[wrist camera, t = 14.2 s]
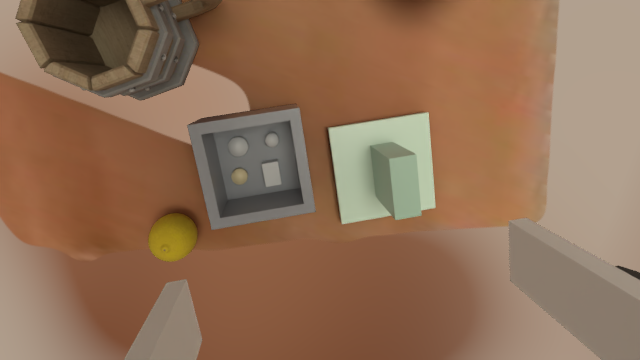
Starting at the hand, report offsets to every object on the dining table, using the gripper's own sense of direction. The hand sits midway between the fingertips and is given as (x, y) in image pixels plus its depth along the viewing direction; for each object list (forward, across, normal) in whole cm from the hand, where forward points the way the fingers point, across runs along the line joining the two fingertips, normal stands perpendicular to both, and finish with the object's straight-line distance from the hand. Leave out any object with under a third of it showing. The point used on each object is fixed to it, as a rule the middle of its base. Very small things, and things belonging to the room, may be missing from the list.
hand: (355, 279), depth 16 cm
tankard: (+37, -13, +16) cm, 42 cm away
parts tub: (+37, -6, -1) cm, 37 cm away
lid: (+37, +10, -5) cm, 38 cm away
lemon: (+37, -18, -8) cm, 42 cm away
